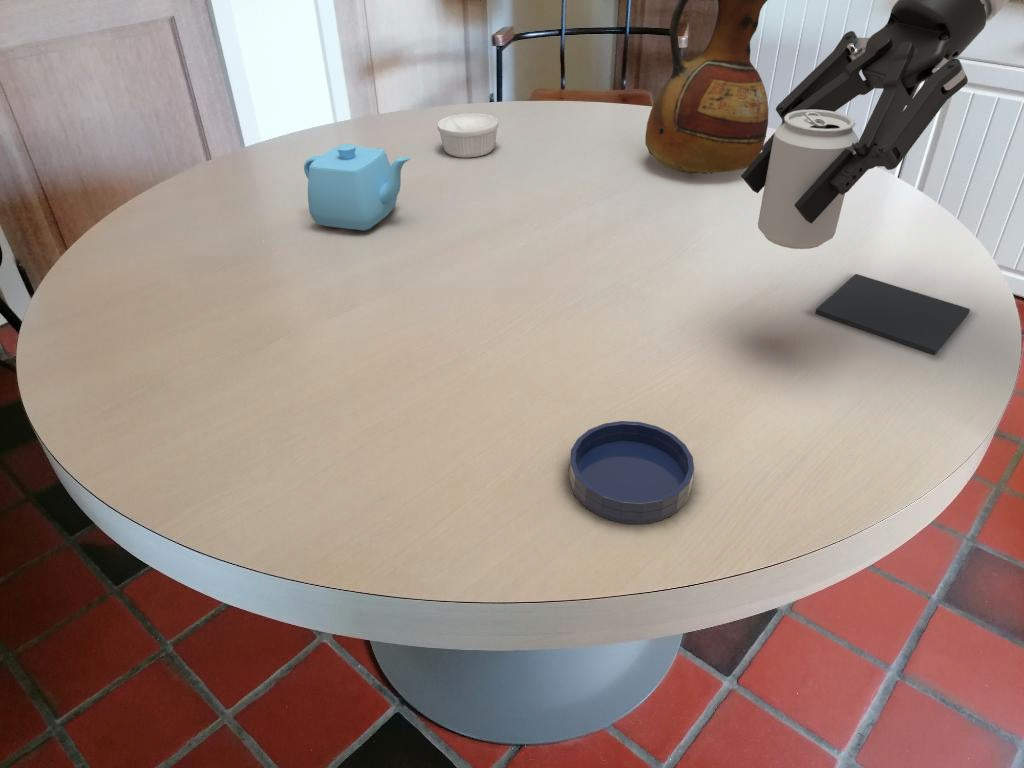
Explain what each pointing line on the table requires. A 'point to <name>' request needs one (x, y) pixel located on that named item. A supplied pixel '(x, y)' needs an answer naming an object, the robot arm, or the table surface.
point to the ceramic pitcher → (712, 98)
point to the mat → (894, 313)
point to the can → (803, 176)
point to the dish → (631, 472)
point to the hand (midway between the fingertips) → (775, 198)
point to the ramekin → (468, 134)
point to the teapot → (352, 186)
